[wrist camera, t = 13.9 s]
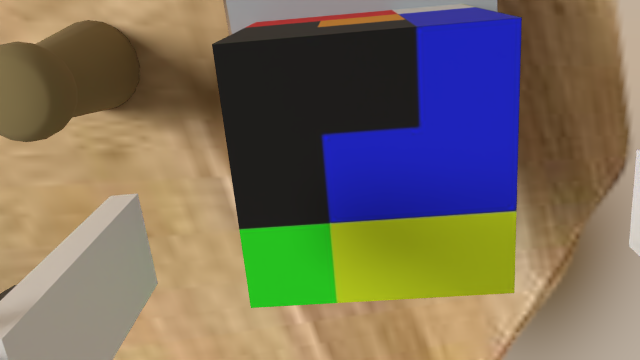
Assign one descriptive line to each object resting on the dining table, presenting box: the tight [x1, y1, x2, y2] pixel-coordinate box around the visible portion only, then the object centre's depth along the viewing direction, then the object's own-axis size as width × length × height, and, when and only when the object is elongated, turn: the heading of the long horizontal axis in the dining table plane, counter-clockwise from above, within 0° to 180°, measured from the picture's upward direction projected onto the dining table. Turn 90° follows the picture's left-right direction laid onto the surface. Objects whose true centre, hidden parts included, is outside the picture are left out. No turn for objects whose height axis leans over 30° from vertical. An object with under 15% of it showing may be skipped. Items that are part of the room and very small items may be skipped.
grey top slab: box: [226, 0, 498, 34], centre depth 32 cm, size 13×13×5 cm
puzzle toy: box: [212, 4, 522, 308], centre depth 25 cm, size 10×10×10 cm
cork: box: [0, 20, 140, 142], centre depth 34 cm, size 6×6×11 cm
